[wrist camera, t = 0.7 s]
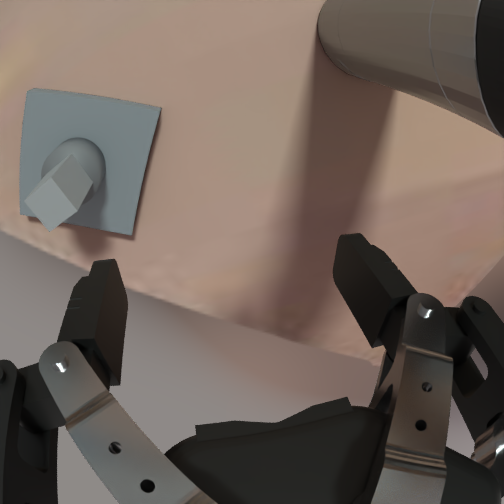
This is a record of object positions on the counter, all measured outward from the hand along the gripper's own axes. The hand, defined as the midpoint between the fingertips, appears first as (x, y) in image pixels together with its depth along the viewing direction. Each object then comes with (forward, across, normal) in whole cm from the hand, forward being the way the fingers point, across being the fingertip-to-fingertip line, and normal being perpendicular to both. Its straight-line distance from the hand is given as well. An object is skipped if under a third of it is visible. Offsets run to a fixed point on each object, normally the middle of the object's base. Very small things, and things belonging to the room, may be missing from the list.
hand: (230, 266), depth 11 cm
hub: (+18, +11, 0) cm, 21 cm away
